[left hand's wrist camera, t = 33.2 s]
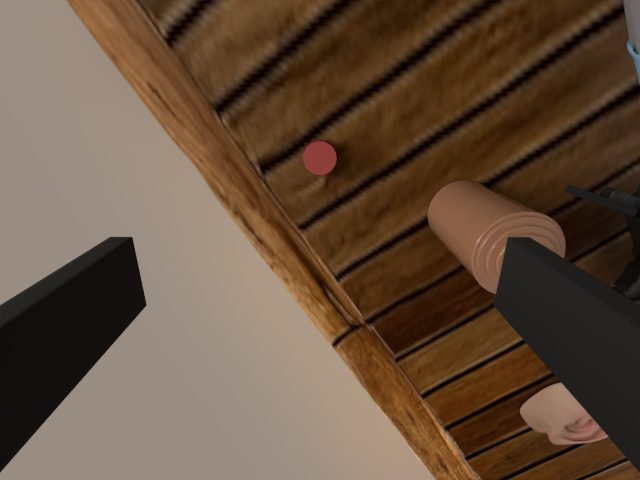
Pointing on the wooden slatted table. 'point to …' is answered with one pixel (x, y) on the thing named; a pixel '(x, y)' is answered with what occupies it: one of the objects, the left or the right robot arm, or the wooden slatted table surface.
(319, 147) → the cap
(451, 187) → the bottle
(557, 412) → the anatomical model
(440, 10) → the wooden slatted table surface
